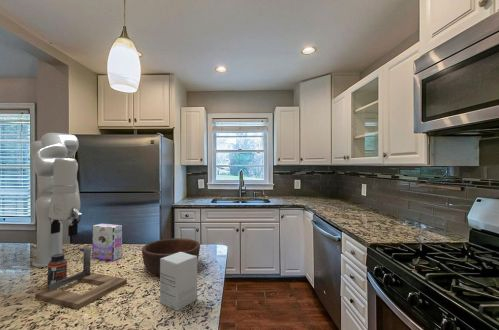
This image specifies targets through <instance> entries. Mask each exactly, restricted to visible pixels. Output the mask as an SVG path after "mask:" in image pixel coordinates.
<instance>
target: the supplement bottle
mask: <svg viewBox="0 0 499 330" xmlns="http://www.w3.org/2000/svg"><path fill="white" fill-rule="evenodd" d="M64 256H65V254H64V253H62V254H54V255H52V256H51V259H52V260H51V261H50V262H49V263H48V266H47V283H46V284H47V285H50V284H52V283H55V282H57V281H60V280H62V279H65V278H67V277H68V274H67V273H68V272H67V271H68V260H67V258H66V259H64ZM47 285H46V286H47Z"/></svg>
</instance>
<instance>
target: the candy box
mask: <svg viewBox="0 0 499 330" xmlns="http://www.w3.org/2000/svg"><path fill="white" fill-rule="evenodd" d="M91 233H92V235H91V236H92V240H91V241H92V244H91V245H92V247H91V251H92V252H91V253H92V255H91V258H92V259H96V260H102V261H108V262H109V261H110V262H114V261H116V260H120V259H121V258H123V225H122V224H121V225H120V224H113V223H112V224H111V223H98V224H94V225H92V232H91Z"/></svg>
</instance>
